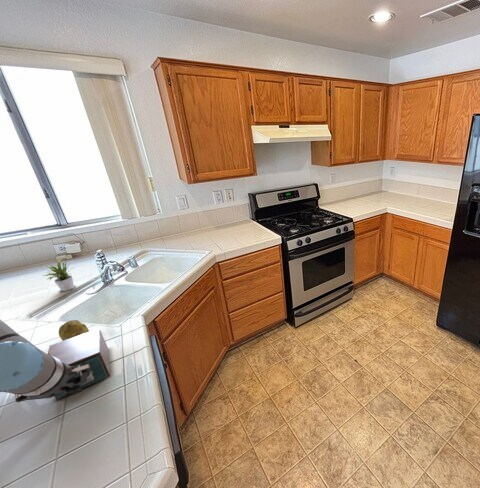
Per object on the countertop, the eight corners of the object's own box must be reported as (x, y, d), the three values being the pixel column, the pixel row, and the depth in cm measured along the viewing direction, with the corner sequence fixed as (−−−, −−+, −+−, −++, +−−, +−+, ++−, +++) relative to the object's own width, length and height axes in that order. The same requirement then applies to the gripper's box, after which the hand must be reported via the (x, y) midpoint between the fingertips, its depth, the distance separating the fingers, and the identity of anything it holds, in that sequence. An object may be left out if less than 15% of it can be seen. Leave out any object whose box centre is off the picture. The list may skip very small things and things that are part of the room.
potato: (64, 357, 92) (55, 338, 89) (63, 340, 101) (55, 323, 98) (94, 344, 98) (87, 327, 95) (91, 329, 106) (83, 313, 103)
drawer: (107, 385, 79) (98, 365, 76) (55, 409, 72) (43, 388, 69) (105, 351, 92) (98, 334, 90) (62, 369, 86) (52, 350, 83)
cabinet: (110, 375, 83) (99, 352, 80) (56, 399, 76) (42, 374, 73) (108, 349, 95) (99, 327, 91) (61, 368, 87) (49, 345, 84)
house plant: (49, 288, 142) (36, 261, 137) (82, 279, 151) (71, 253, 145) (47, 298, 132) (33, 269, 127) (83, 287, 141) (71, 260, 135)
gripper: (-4, 413, 50) (47, 416, 68) (84, 375, 58) (109, 387, 76) (-9, 376, 53) (42, 388, 71) (77, 344, 60) (103, 363, 78)
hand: (77, 388), depth 73 cm, fingers closed
